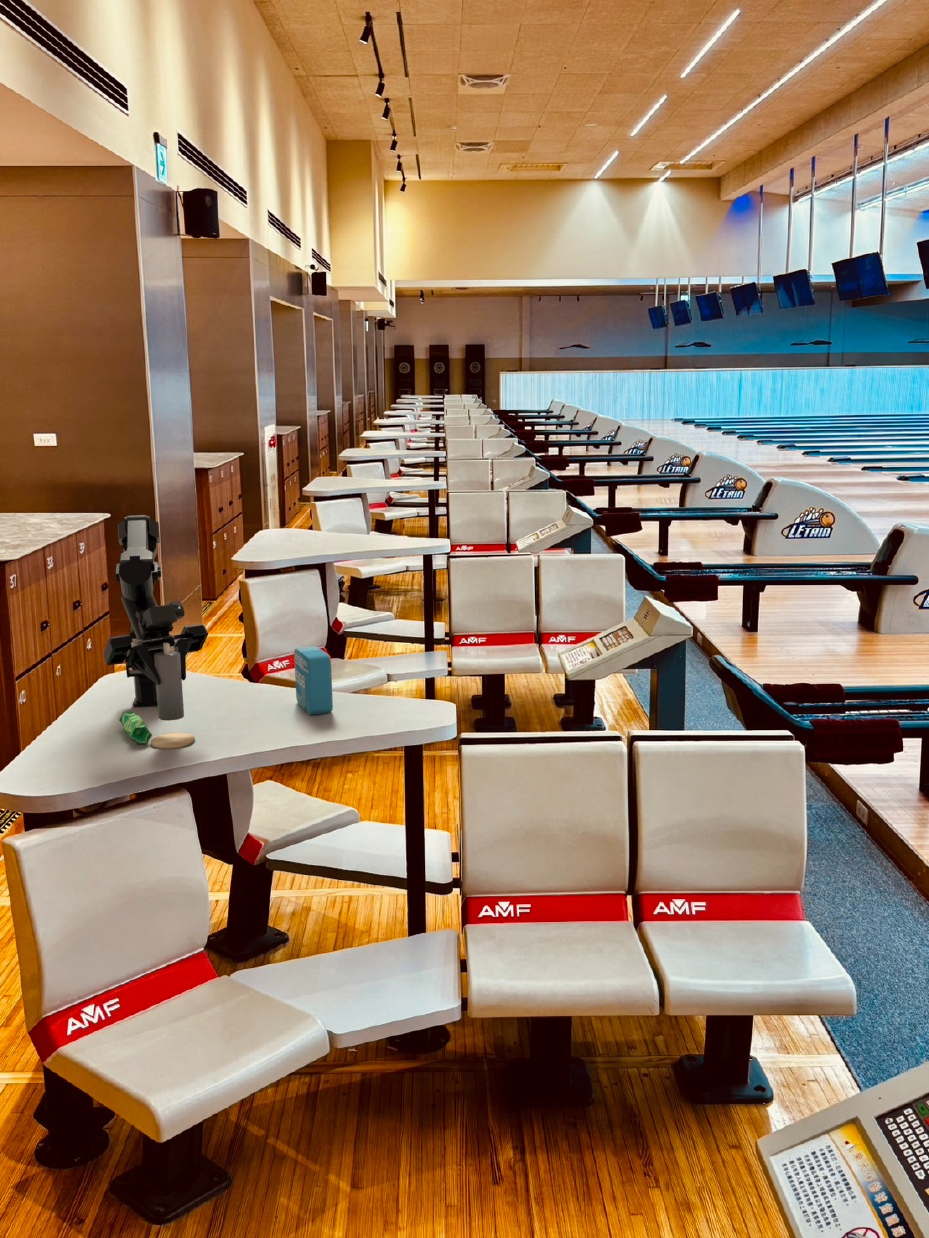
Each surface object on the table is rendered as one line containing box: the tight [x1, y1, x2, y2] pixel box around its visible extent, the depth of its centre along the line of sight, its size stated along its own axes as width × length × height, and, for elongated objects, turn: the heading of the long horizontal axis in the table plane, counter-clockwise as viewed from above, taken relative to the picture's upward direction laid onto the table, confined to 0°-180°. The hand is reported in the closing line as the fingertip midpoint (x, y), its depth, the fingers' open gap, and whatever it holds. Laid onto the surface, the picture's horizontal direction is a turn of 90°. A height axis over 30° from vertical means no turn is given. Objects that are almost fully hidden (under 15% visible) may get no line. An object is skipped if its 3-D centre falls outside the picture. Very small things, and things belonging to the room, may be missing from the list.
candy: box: [119, 711, 153, 745], centre depth 215 cm, size 12×3×4 cm
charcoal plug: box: [154, 643, 185, 722], centre depth 209 cm, size 5×5×14 cm
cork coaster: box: [150, 732, 196, 750], centre depth 211 cm, size 8×8×1 cm
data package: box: [293, 645, 334, 716], centre depth 232 cm, size 12×4×12 cm, turn 23°
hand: (171, 681), depth 208 cm, fingers closed on charcoal plug, 5 cm apart
